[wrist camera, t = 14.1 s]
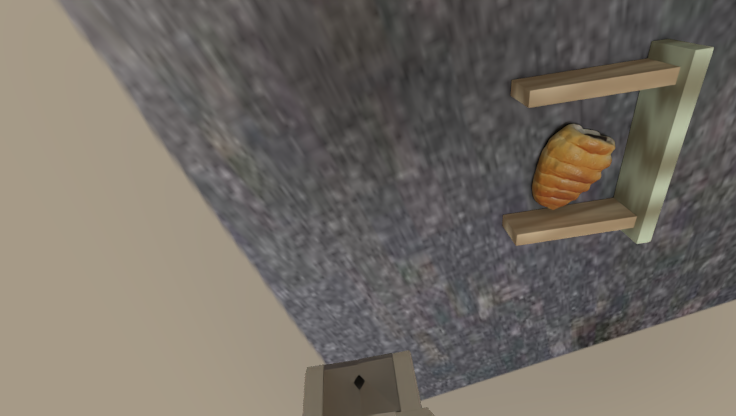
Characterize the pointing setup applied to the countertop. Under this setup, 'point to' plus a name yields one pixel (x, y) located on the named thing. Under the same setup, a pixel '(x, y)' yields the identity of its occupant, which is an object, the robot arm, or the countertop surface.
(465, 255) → the countertop surface
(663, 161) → the wooden wall rack
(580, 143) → the pastry
